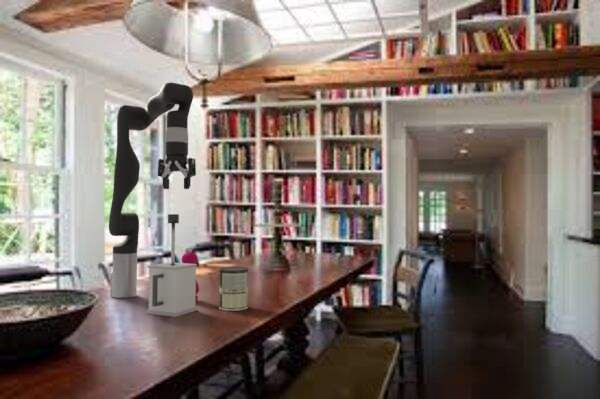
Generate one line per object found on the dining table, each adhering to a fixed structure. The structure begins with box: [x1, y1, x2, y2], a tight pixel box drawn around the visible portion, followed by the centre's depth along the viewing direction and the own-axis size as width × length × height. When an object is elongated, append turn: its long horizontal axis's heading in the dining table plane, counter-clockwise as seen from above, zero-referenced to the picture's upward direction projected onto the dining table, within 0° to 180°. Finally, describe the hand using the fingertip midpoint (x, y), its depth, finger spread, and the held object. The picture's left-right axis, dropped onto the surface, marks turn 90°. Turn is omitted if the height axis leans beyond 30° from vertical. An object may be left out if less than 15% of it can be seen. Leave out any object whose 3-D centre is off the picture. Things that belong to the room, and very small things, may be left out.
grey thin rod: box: [167, 213, 180, 265], centre depth 175 cm, size 9×9×22 cm
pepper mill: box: [181, 248, 200, 303], centre depth 195 cm, size 7×7×20 cm
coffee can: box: [218, 266, 249, 312], centre depth 182 cm, size 10×10×14 cm
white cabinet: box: [146, 261, 198, 318], centre depth 173 cm, size 12×16×16 cm
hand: (176, 189), depth 176 cm, fingers open, 8 cm apart
